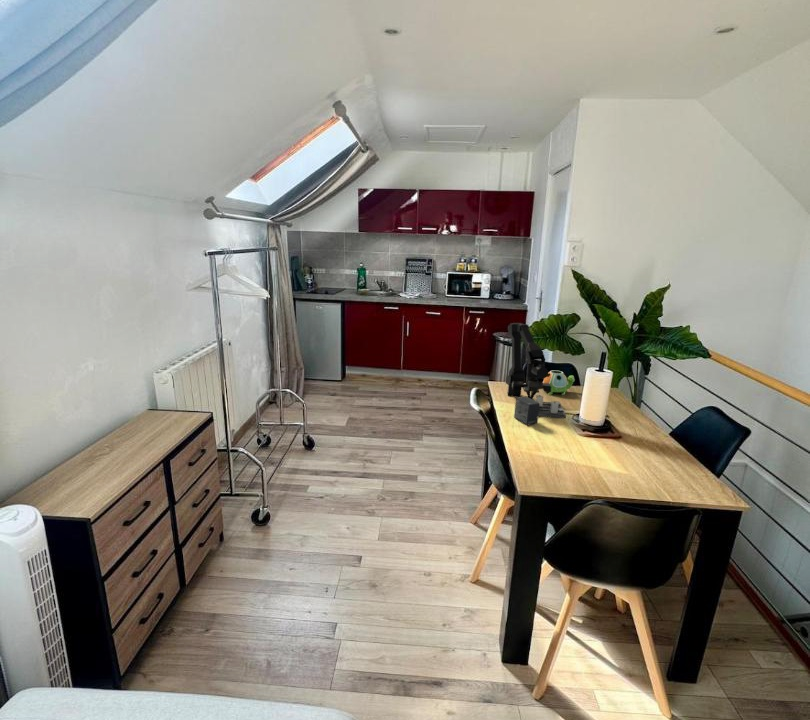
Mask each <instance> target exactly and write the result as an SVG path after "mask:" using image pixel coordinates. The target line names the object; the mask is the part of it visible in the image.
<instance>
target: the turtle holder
mask: <svg viewBox="0 0 810 720" xmlns="http://www.w3.org/2000/svg"><path fill="white" fill-rule="evenodd" d="M542 380H543V381H542V382H543V383H549V384H550V385H551V392H547V395H548V396H549V395H551V396H553V395H554V393H561V395H562V396H565V395H566V392H567V391H568V390H569V389H570V388H572V386H573V384H574V382H575V381H576V379H575V376H574V375H572V374H571V375H569V376H568V377H567V376H566V375H565V373H564V372H563V371H561V370H550V371H548V375H547V377H546V378H544V379H542Z"/></svg>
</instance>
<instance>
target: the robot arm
mask: <svg viewBox="0 0 810 720" xmlns="http://www.w3.org/2000/svg"><path fill="white" fill-rule="evenodd" d="M507 331H508V336H509V338H510V339H511V367H510V369H509V371H508V375H507V377H505V384H506V385H508V386H507V392H506V393H507V396H508V397H515V398H516V397H521V395H522V389H523V392H524V393H526V395H527V396H526V397H528V398H530V399H532V400H534V397H535V396H536V395H537V393H539V392H540V390H543V391H544V392H547V393H549V392H551V385H550V384H549V383H543V381H539V379H540V380H544V378H546V377H547V375H548V373H549V370H548V368H546V365H545V364H546V358H545V354H544V351H543V349H542V348H541V346H540V345H538V344H537V343H536V342H535V340H534V338H533V335H532V333H531V330H530V326H529V324H526V323H525V324H524V323H522V322H513V323H511V322H510V323H509V324H508V326H507ZM522 341H523V344H524V346H525V357H526V363H527V364H526V365H527V366H526V371H525V369H524V368H523V367H522ZM525 374H526V375H525Z"/></svg>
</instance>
